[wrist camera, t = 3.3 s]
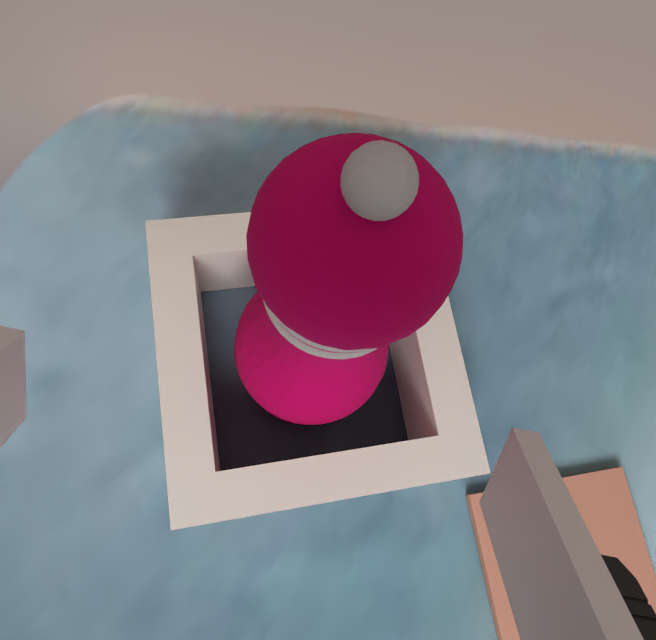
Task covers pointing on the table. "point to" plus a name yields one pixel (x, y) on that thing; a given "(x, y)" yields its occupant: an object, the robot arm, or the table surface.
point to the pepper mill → (342, 272)
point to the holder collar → (302, 473)
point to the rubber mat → (603, 524)
